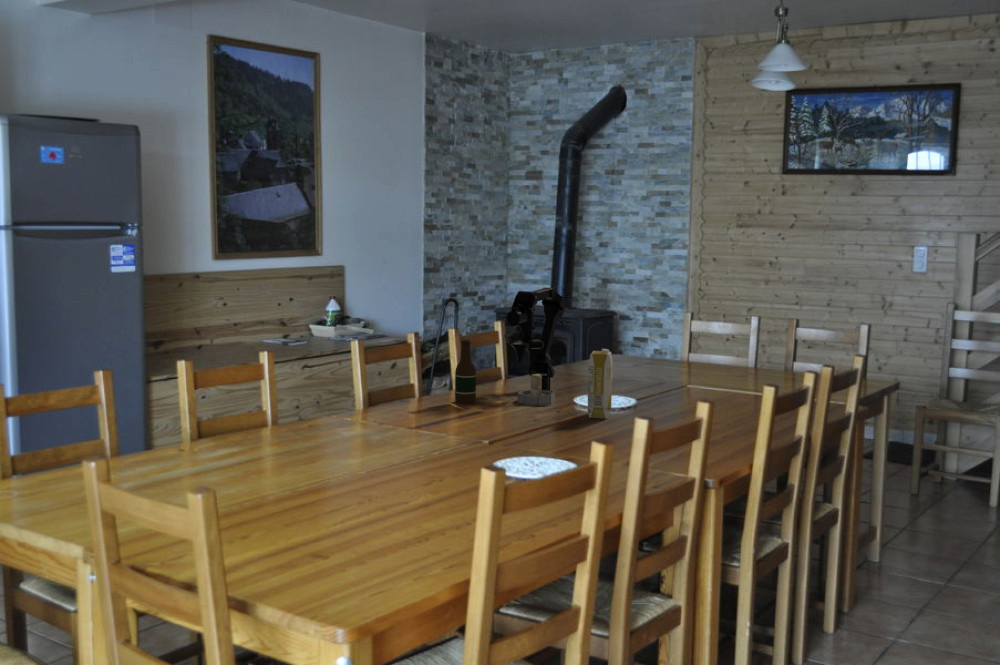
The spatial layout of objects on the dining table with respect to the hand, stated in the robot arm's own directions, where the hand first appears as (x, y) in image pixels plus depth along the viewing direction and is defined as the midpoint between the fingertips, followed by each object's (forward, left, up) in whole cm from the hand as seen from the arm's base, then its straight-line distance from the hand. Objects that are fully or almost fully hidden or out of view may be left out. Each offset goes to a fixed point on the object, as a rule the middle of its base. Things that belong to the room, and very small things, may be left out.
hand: (525, 363), depth 381 cm
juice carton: (-7, +43, -13) cm, 46 cm away
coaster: (+12, +1, -13) cm, 18 cm away
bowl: (+2, +13, -13) cm, 18 cm away
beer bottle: (+27, +4, -13) cm, 30 cm away
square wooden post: (+2, +13, -12) cm, 18 cm away
